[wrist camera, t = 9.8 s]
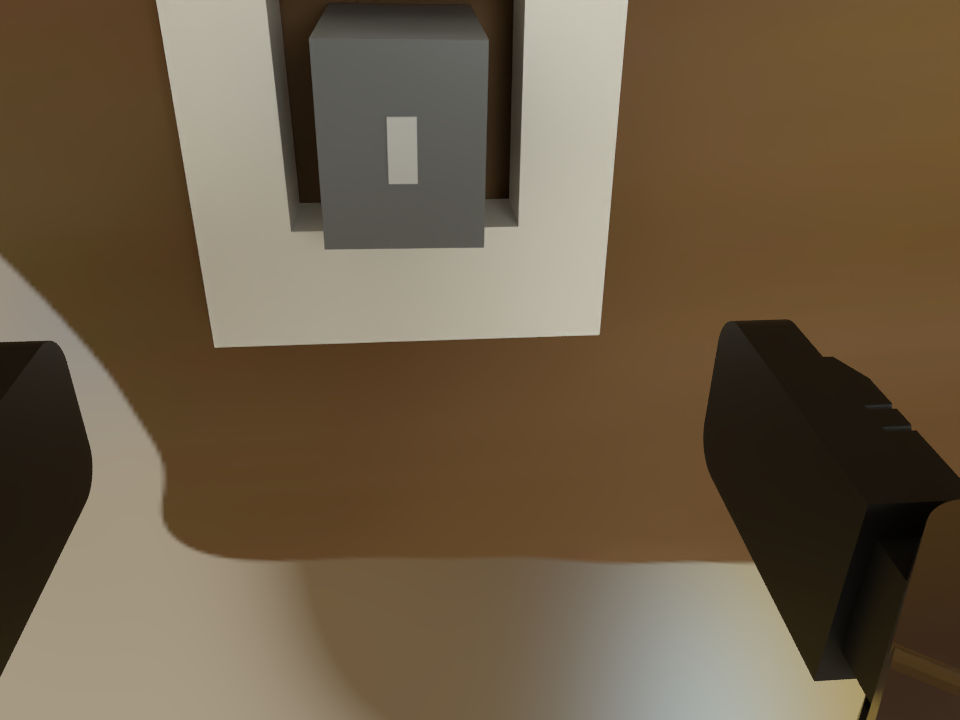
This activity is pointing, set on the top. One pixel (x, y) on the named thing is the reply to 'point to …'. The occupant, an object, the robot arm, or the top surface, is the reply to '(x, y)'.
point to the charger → (401, 125)
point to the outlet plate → (396, 272)
